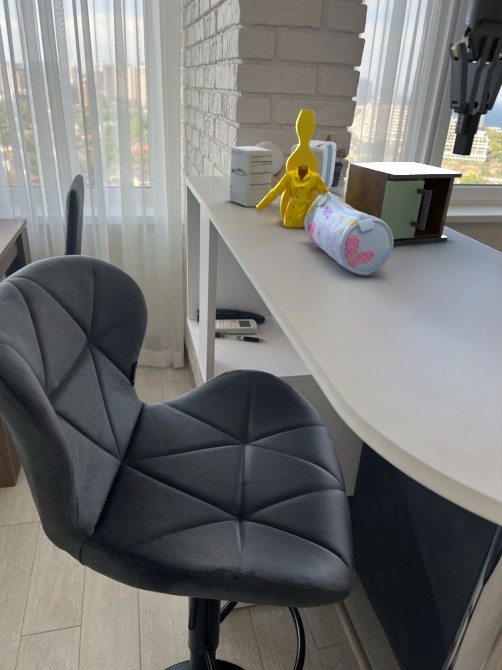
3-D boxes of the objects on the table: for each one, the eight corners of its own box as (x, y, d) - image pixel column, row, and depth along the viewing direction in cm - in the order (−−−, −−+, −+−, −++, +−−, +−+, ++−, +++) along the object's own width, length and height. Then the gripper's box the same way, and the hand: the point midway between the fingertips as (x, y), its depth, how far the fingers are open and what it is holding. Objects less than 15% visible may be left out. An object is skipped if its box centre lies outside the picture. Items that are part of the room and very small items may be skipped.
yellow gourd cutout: (318, 204, 125) (327, 117, 116) (286, 200, 127) (293, 114, 118) (332, 191, 143) (341, 114, 134) (304, 188, 145) (311, 112, 136)
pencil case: (300, 241, 94) (305, 189, 90) (344, 241, 96) (351, 190, 92) (338, 280, 76) (346, 217, 72) (391, 279, 78) (403, 217, 73)
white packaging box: (228, 201, 123) (230, 146, 118) (252, 198, 127) (255, 145, 122) (246, 207, 118) (248, 150, 113) (270, 204, 122) (274, 149, 117)
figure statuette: (255, 226, 102) (261, 108, 93) (255, 217, 109) (261, 106, 100) (342, 231, 102) (357, 113, 93) (337, 222, 109) (351, 111, 100)
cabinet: (446, 241, 100) (462, 173, 94) (381, 246, 94) (393, 174, 88) (402, 224, 111) (413, 162, 105) (341, 228, 105) (349, 163, 99)
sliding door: (424, 242, 94) (437, 183, 89) (390, 245, 91) (401, 184, 86) (410, 236, 97) (421, 179, 92) (377, 239, 94) (386, 180, 89)
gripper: (506, 1, 84) (472, 151, 94) (446, -8, 79) (417, 152, 89) (546, -4, 78) (505, 157, 88) (483, -15, 73) (448, 157, 83)
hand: (461, 154), depth 89 cm, fingers closed
